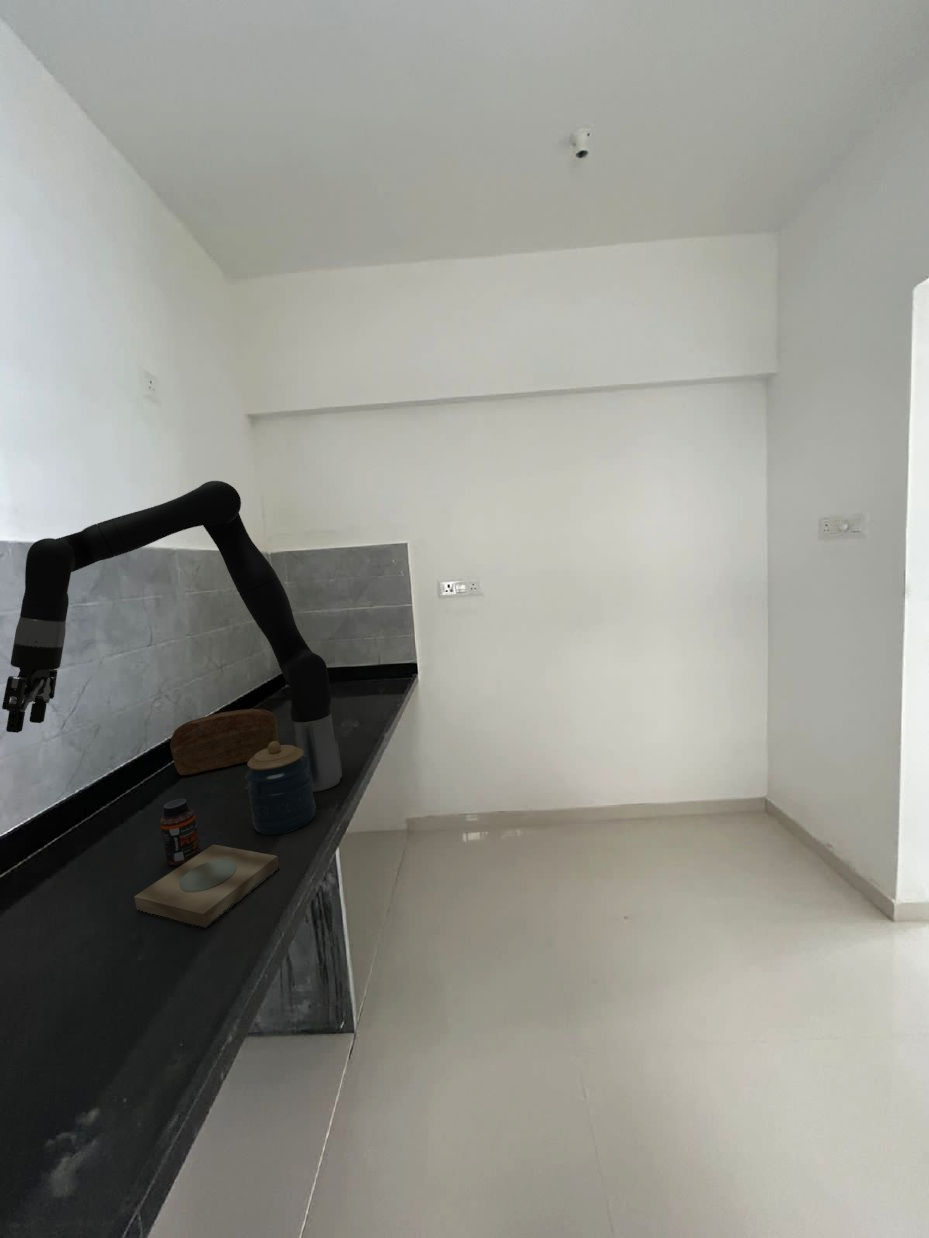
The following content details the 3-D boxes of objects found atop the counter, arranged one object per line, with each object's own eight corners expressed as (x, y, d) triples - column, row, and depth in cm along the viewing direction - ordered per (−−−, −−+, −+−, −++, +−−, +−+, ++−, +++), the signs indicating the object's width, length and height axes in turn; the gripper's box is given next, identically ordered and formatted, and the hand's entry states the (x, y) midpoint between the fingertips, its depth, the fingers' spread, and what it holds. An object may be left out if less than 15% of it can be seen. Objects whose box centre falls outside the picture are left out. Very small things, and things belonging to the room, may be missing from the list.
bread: (282, 758, 154) (274, 709, 153) (173, 782, 145) (163, 730, 143) (281, 745, 166) (273, 699, 164) (179, 766, 156) (170, 718, 154)
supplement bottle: (187, 867, 102) (176, 810, 100) (160, 866, 103) (149, 810, 101) (208, 849, 108) (198, 795, 106) (182, 849, 109) (172, 795, 107)
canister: (242, 825, 116) (229, 746, 114) (297, 800, 126) (285, 727, 123) (272, 843, 107) (258, 758, 105) (328, 815, 117) (317, 736, 114)
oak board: (215, 856, 105) (213, 843, 104) (279, 868, 98) (277, 854, 98) (136, 910, 90) (134, 895, 90) (205, 928, 84) (202, 912, 83)
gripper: (44, 648, 98) (30, 737, 97) (77, 642, 111) (64, 721, 111) (-5, 642, 96) (-20, 733, 95) (34, 637, 109) (21, 717, 109)
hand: (25, 726), depth 103 cm, fingers open, 8 cm apart
